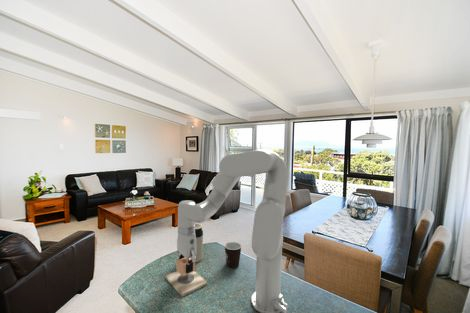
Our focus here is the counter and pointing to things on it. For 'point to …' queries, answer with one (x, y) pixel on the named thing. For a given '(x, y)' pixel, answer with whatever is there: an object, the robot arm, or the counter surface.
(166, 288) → the counter surface
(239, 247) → the coffee mug
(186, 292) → the post stand
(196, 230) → the travel mug
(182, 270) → the ring
